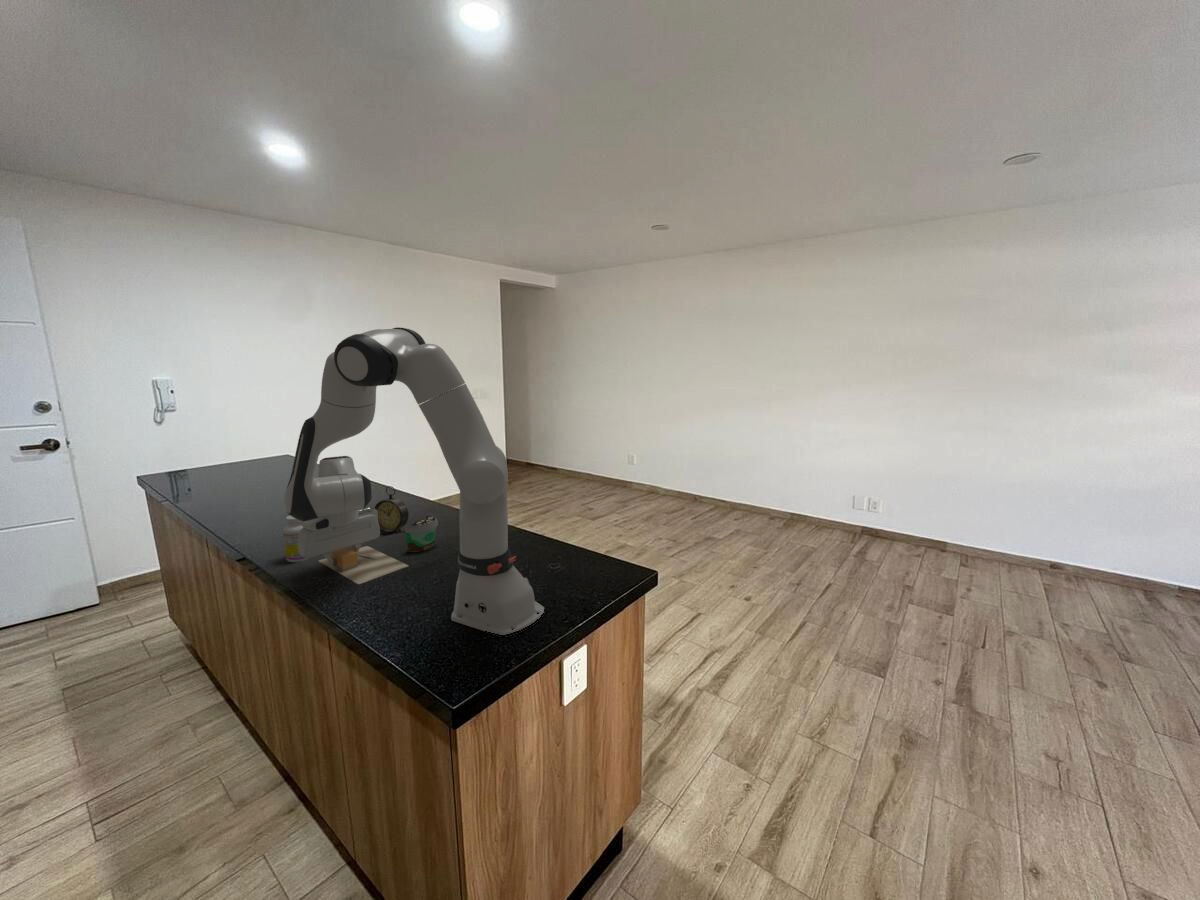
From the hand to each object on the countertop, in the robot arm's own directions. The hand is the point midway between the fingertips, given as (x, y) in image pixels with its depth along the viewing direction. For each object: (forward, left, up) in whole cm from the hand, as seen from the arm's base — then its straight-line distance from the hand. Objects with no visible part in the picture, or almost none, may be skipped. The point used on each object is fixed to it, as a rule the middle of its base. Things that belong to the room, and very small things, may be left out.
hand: (343, 562), depth 125 cm
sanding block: (0, 0, -1) cm, 1 cm away
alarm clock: (+16, -24, -2) cm, 29 cm away
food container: (-6, -22, -2) cm, 23 cm away
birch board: (-3, -4, -2) cm, 5 cm away
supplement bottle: (+17, +4, -2) cm, 18 cm away
